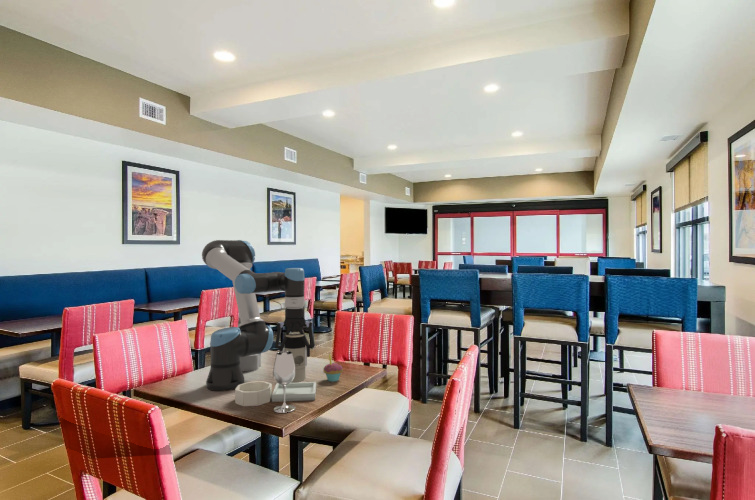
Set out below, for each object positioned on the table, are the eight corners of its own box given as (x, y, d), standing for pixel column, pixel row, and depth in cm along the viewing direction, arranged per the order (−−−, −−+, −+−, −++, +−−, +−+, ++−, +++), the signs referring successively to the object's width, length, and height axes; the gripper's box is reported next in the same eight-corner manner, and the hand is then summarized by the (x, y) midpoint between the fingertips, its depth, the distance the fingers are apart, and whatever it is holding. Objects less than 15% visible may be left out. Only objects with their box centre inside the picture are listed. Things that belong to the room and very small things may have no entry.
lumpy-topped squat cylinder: (256, 371, 195) (256, 352, 195) (228, 371, 195) (228, 352, 195) (262, 365, 205) (262, 347, 205) (235, 365, 205) (235, 347, 205)
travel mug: (283, 378, 165) (283, 333, 165) (303, 376, 168) (303, 331, 168) (286, 384, 158) (286, 336, 158) (307, 381, 160) (307, 335, 161)
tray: (271, 401, 155) (271, 395, 155) (276, 389, 169) (276, 383, 169) (314, 400, 157) (314, 393, 157) (316, 387, 171) (316, 381, 171)
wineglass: (287, 414, 143) (287, 356, 143) (268, 411, 146) (268, 354, 146) (299, 406, 150) (299, 351, 150) (281, 403, 153) (281, 349, 153)
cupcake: (330, 384, 175) (330, 355, 175) (319, 379, 182) (319, 352, 182) (346, 380, 181) (346, 352, 181) (335, 375, 187) (335, 349, 187)
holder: (232, 406, 150) (232, 392, 150) (240, 394, 163) (240, 381, 163) (268, 405, 152) (268, 391, 152) (273, 393, 164) (273, 380, 164)
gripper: (266, 309, 158) (266, 369, 158) (321, 308, 160) (321, 367, 160) (269, 306, 165) (269, 363, 165) (321, 305, 168) (321, 362, 168)
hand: (295, 365), depth 163 cm, fingers closed on travel mug, 8 cm apart
